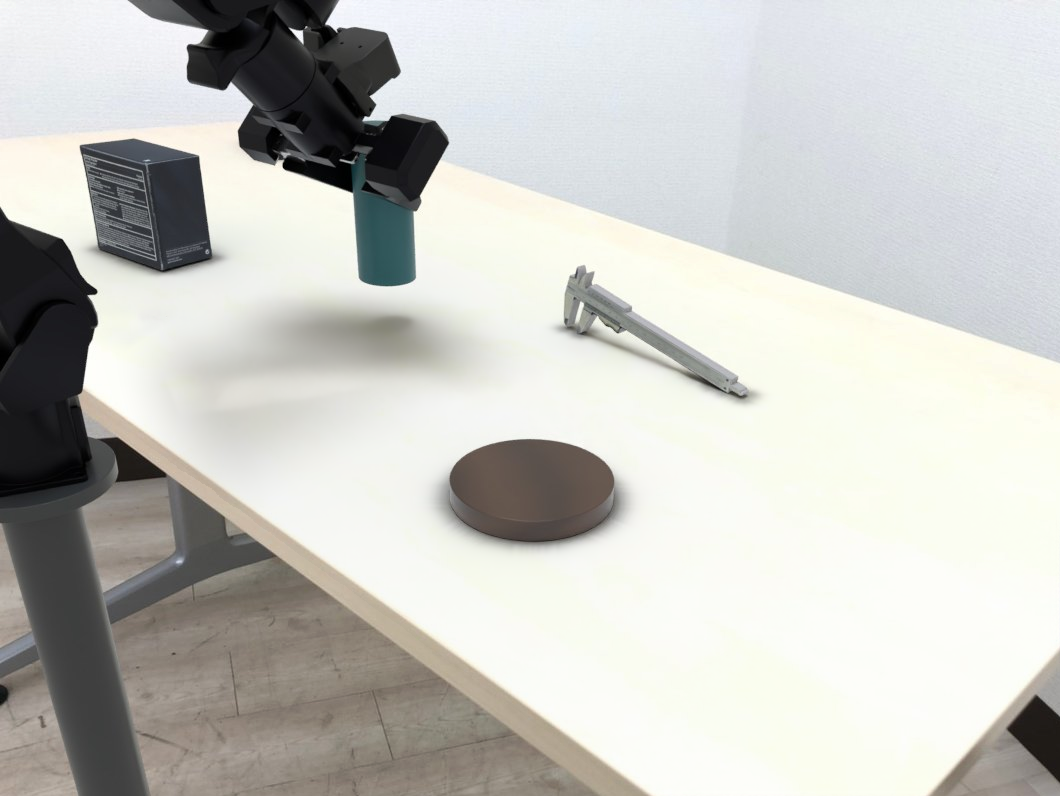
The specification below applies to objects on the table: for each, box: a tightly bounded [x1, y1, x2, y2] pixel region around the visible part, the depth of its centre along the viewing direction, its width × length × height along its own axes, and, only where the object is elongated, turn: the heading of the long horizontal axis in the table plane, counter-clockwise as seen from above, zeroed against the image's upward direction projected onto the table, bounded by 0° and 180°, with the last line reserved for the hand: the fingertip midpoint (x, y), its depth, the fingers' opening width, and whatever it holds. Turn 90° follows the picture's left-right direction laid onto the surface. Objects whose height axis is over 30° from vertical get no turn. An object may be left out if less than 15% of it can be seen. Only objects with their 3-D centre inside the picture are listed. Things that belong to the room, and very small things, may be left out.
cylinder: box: [351, 119, 417, 287], centre depth 90 cm, size 5×5×13 cm
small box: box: [79, 137, 213, 271], centre depth 104 cm, size 11×6×10 cm, turn 58°
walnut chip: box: [448, 438, 615, 542], centre depth 70 cm, size 11×11×2 cm
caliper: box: [563, 264, 750, 396], centre depth 90 cm, size 20×1×6 cm, turn 50°
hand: (395, 200), depth 91 cm, fingers closed on cylinder, 5 cm apart
